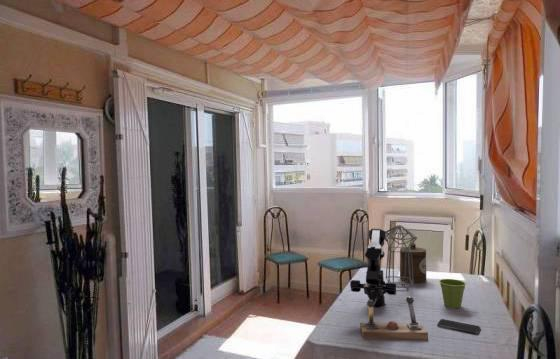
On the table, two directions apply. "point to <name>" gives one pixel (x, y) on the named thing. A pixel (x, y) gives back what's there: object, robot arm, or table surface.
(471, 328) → the phone
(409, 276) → the geometric lantern
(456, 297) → the plant pot
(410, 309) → the graphite lever
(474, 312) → the table surface
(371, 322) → the dark gray metal lever
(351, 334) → the table surface
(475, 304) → the table surface
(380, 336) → the switch panel
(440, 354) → the table surface
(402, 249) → the wooden container
